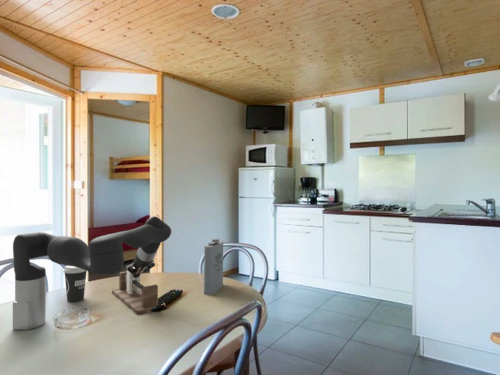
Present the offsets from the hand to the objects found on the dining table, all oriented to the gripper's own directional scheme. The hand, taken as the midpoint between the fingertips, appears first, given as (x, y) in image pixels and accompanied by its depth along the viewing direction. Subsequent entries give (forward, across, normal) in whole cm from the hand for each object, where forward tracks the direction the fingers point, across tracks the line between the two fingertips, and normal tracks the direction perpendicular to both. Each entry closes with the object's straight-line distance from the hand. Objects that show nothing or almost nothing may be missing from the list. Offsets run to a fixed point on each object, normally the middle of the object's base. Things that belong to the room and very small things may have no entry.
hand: (135, 276), depth 146 cm
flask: (0, +35, -15) cm, 38 cm away
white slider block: (+7, 0, -4) cm, 8 cm away
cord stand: (+5, 0, -9) cm, 10 cm away
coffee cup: (+17, -22, +3) cm, 28 cm away
